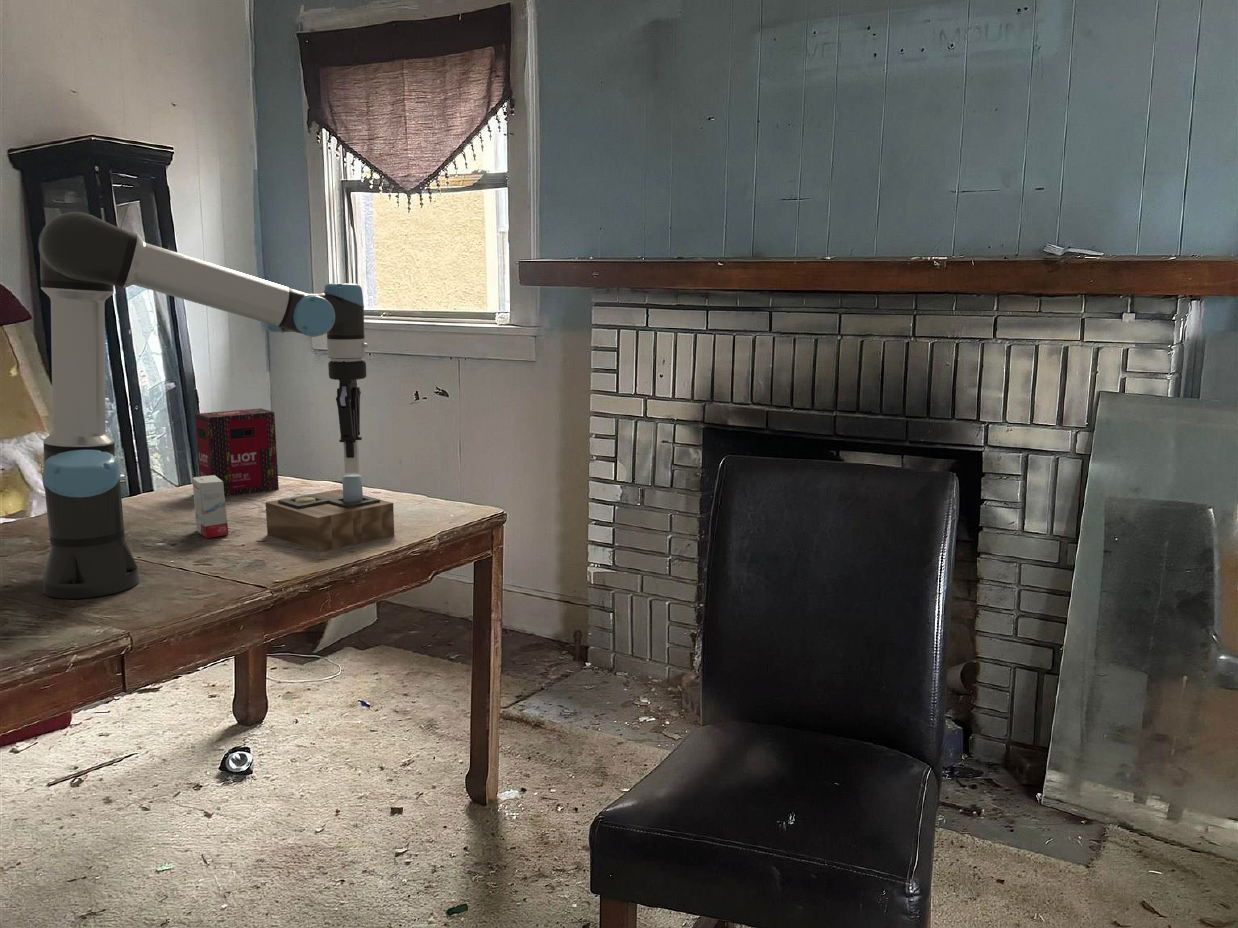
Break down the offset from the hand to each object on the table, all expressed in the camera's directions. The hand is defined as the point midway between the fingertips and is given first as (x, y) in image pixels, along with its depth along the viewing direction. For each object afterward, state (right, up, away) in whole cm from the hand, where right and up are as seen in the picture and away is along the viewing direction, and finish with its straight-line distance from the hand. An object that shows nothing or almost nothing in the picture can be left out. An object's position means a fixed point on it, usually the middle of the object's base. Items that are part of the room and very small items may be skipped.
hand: (352, 471), depth 213 cm
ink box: (-31, -13, +3) cm, 34 cm away
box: (-40, -5, +44) cm, 60 cm away
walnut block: (-5, -13, +2) cm, 14 cm away
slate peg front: (0, -8, +2) cm, 8 cm away
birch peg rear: (-10, -13, +2) cm, 17 cm away
